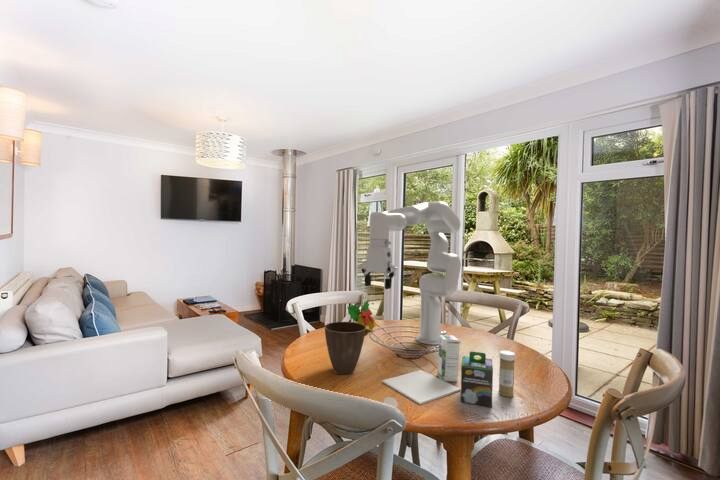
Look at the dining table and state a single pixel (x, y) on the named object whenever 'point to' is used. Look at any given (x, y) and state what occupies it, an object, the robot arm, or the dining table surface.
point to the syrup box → (448, 358)
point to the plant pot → (344, 345)
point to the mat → (421, 386)
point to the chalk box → (477, 379)
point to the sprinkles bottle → (506, 373)
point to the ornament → (362, 316)
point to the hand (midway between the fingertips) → (377, 287)
